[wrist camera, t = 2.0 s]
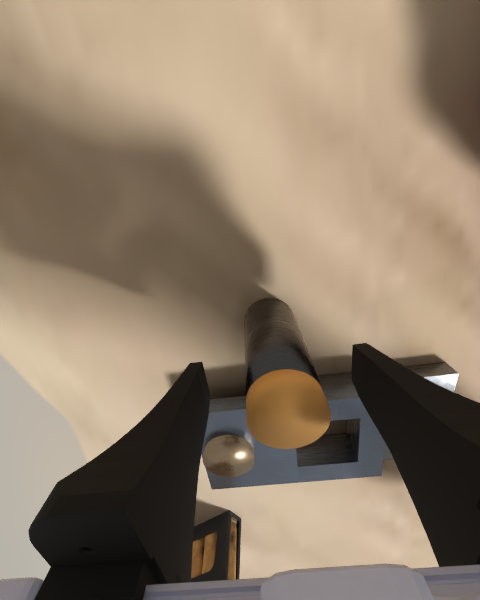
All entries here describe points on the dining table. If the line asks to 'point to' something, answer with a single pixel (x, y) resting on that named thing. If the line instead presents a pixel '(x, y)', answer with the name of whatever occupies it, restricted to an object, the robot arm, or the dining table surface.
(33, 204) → the dining table surface
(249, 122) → the dining table surface
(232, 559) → the ammunition clip
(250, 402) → the pin
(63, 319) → the dining table surface
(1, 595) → the robot arm
